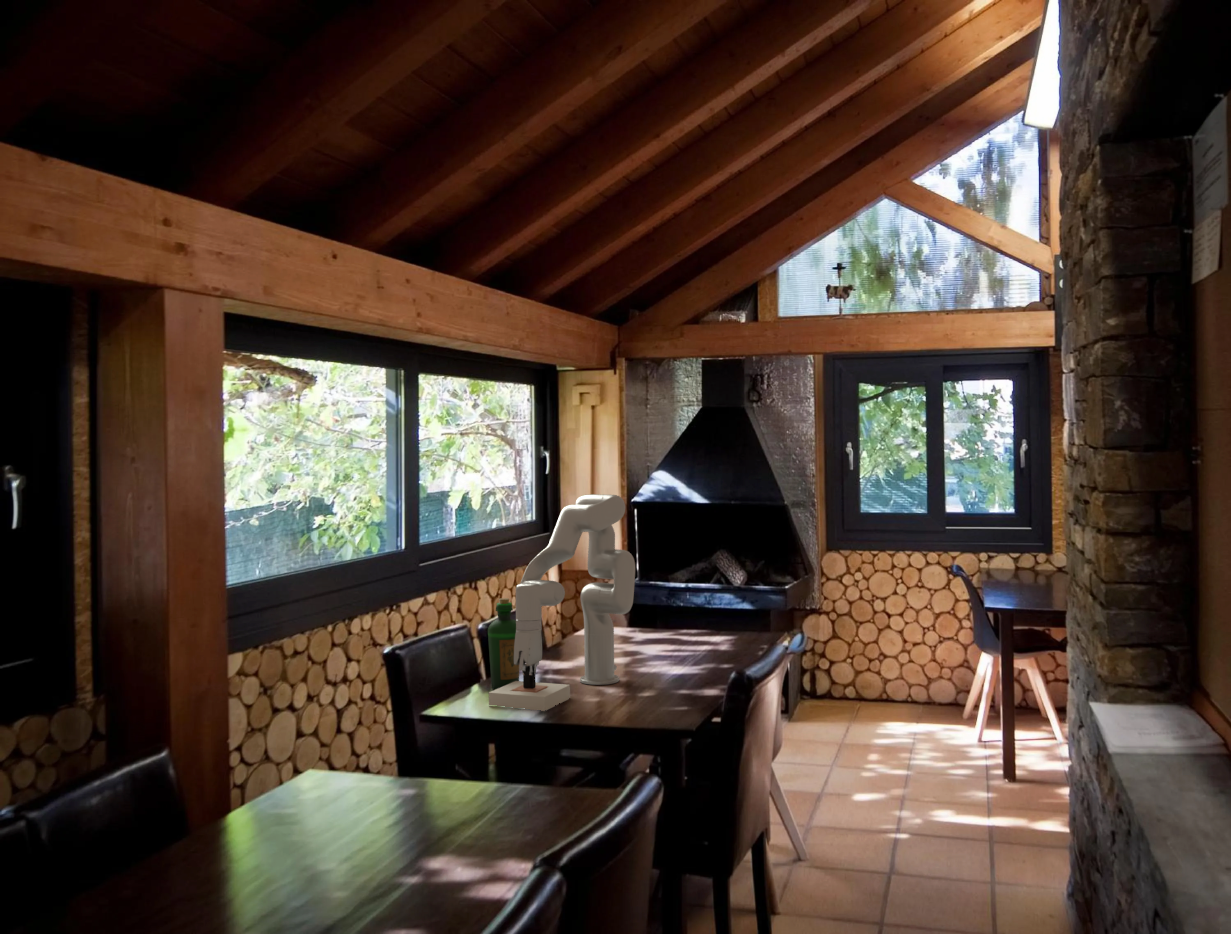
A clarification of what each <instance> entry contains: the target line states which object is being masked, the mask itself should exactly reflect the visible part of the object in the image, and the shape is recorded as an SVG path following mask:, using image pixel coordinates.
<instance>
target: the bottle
mask: <svg viewBox="0 0 1231 934" xmlns="http://www.w3.org/2000/svg"><path fill="white" fill-rule="evenodd" d="M513 609H514V608H513V604H512V602H511V601H510V598H507V597H504V598H503V597H502V598H498V602H497V603H496V606H495V611H496V612H497V618H496V619H495V620H494V621H492V622H491V623H490V625H489V626H488V628H487V638H488V639H487V641H488V653H489V655H488V656H489V665H490V666H489V667H490V668H489V669H490V683H491V688H492V689H493V690H495V689H498V688H501V687H503V686H505V685H508V684H510V683H512V682H515V681H520V670H519V665H515V664H514V643H515V635H516V632H517V631H516V619H514V618H512V616H511V615H512V611H513Z"/></svg>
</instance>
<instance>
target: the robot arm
mask: <svg viewBox="0 0 1231 934" xmlns="http://www.w3.org/2000/svg"><path fill="white" fill-rule="evenodd" d="M625 512H626V503H625V500H624V499H623V498H622V497H621V496H620V495H617V494H596V493H595V494H593V493H592V494H584V495H580V496H579V497H577V499H576V500H575V504H568V505H565V506H564V507H563V508H562V509H561V511H560V513H559V516H558V519H557V521H556V523H555V526H554V529H553V531H552V534H551V536H550V539H549V543H548V544H547V546H546V547H545V548H544V549H543V550H541V551H540V552H538V554H537V555H536V556H535V557H534V558H532V560H531V561H530V562H529V564H528V565H527V566H526V568H525V570H524V573H523V575H522V578H521V580H520V583H519V584H517V585H516V587H515V621H516V631H517V632H516V635H515V643H514V664H515V665H519V672H521V673H522V675H523V676H522V678H523V679H522V681H523V687H524V688H529V689H533V688H535V687H536V684H535V682H536V673H537V667H538V666H539V664H540V662H541V661H542V660H543V639H542V628H543V625H542V607H546V606H547V607H555V606H558V605H559V604H561V603H562V602H563V601H564V599H565V596H566V595H565V594H566V592H565V591H566V590H565V587H564V586H563V584H562V583H560V582H558V581H556V580H547V579H542V578H543V576H544V575H545V574H546V573H547V572H548V571H549V570H551V569H552V568H554V567H556V566H557V565H561V564H563V563H564V562H567V561H569V560H570V559H572V558H573V557H574V555H575V553H576V551H577V547H578V545H579V542H580V539H581V537H582V534H583V533H588V548H587V549H588V551H587V571H588V574H589V575H590V576H591V577H593V578H597V579H603V580H604V579H605V580H613V583H610V582H597V581H596V582H590V583H588V584H585V586H584V587H583V588H582V589H581V592H580V605H581V609H582V614H583V627H584V629H583V631H584V632H583V635H584V646H583V647H584V675H582V676H581V677H579V681H580V683H582V684H585V685H590V686H591V685H592V686H593V685H595V686H596V685H598V686H599V685H600V686H601V685H602V686H603V685H604V686H605V685H613V684H616V683H619V682H620V677H619V675H616V674H615V671H616V670H617V669H618V667H617V665H616V664H615V633H614V632H615V628H614V627H615V625H614V622H613V619H612V617H611V615H612V614H613V615H626V614H628V613H629V612H630V611H631V609H632V607H633V604H634V597H635V596H634V594H635V593H634V592H635V583H636V582H635V580H636V578H635V577H636V562H635V558H634V556H633V555H632V553H630V551H628V550H625V549H617V548H616V532H615V529H614V527H613V525H614V524H616V523H617V522H619V521H620V520H622V518H624V515H625ZM610 614H611V615H610Z"/></svg>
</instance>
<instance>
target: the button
mask: <svg viewBox="0 0 1231 934" xmlns="http://www.w3.org/2000/svg"><path fill="white" fill-rule="evenodd" d="M546 688H547V686H540V685H536V687H535V688H533V689H529V688H524V687H523V685H522V686H519V687H517V688H515V689H513V690H512V691H521V692H533V693H537V692H539V691H541V690H543V689H546Z"/></svg>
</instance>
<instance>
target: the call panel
mask: <svg viewBox="0 0 1231 934" xmlns="http://www.w3.org/2000/svg"><path fill="white" fill-rule="evenodd" d="M535 684H536V685H540V686H547V688H546V689H543V690H541V691H539V692H537V693H533V692H521V691H512V690H513V689H515V688H517V687H519V686H522V685H523V680H521V681H520V680H519V681H515V682H512V683H510V684H508V685H505V686H503V687H501V688H498V689H496V690H495V689H493V690H492V691H489V692H488V706H489V705H497V706H505V707H513V708H512V709H514V708H525V709H530V710H529V711H537V710H541V711H540V712H546V711H548V710H550V709H552V708H554V707H556V706H558V705H559V703H560V704H562V703H563V702H566V701H568V700H569V698H570V699H571V685H570V684H565V683H564V684H563V683H549V682H538V681H535ZM555 705H556V706H555ZM525 709H524V710H525ZM545 710H546V711H545Z"/></svg>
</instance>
